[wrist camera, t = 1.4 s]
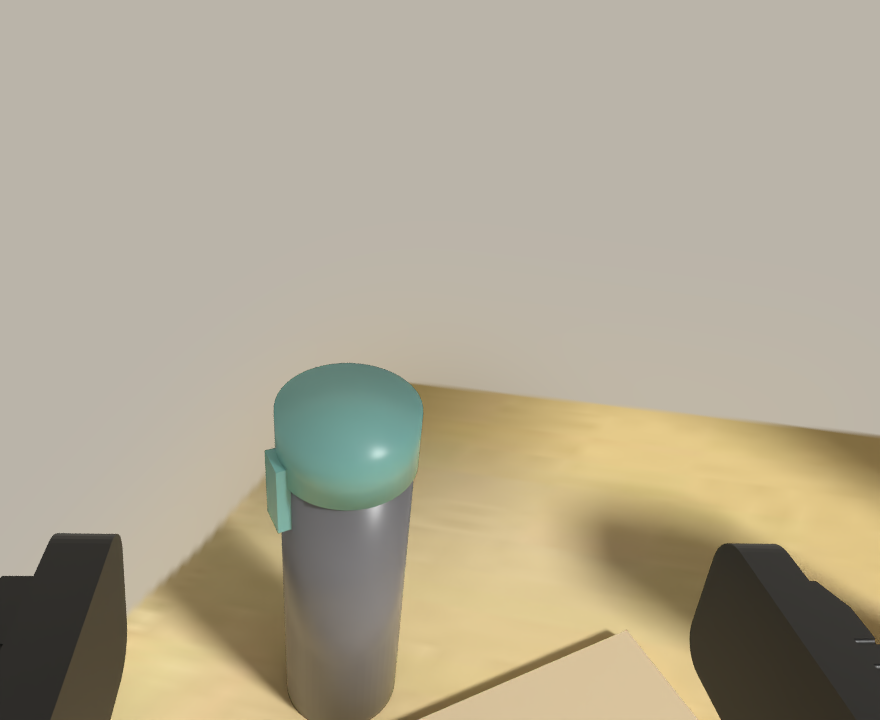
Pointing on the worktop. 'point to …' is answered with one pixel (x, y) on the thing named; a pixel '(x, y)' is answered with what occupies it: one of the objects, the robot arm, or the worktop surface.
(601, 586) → the worktop surface
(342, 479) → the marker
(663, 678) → the beige flat board
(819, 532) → the worktop surface
